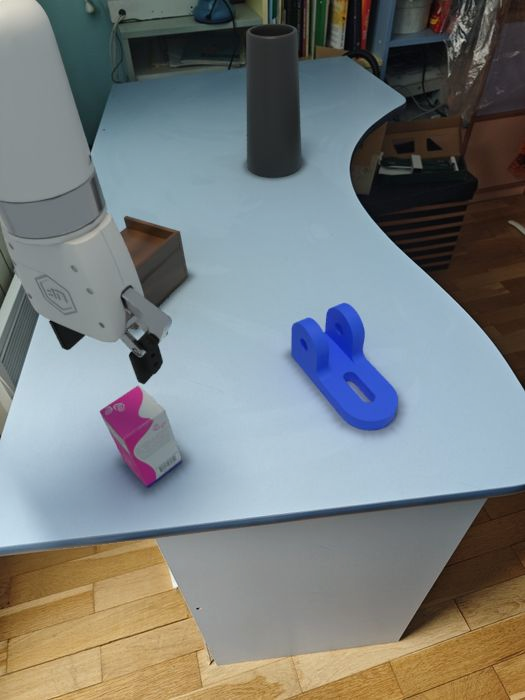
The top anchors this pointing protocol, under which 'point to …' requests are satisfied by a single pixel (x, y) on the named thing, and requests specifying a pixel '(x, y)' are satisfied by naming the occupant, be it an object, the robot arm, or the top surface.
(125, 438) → the supplement box
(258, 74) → the vase
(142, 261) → the wooden crate
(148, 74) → the top surface
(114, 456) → the top surface
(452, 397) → the top surface
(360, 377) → the bracket
